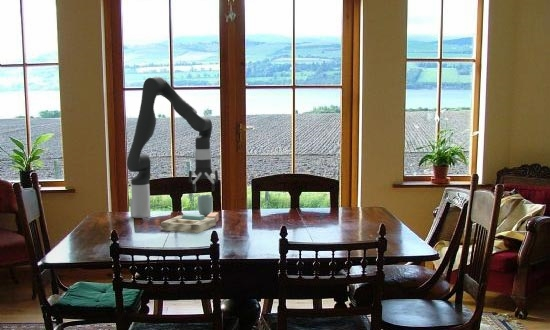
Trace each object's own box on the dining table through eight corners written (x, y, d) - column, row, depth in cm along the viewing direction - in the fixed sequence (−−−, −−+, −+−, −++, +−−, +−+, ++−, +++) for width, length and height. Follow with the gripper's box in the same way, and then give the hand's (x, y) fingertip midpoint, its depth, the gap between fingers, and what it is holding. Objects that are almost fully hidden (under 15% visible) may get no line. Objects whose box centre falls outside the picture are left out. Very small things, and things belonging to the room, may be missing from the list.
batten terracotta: (214, 224, 268) (214, 216, 268) (206, 224, 269) (206, 216, 268) (218, 220, 278) (218, 212, 278) (210, 220, 279) (210, 212, 278)
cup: (214, 213, 295) (213, 195, 294) (211, 216, 287) (210, 197, 286) (200, 213, 296) (199, 194, 295) (196, 216, 288) (196, 197, 287)
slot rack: (161, 229, 257) (161, 222, 256) (180, 222, 273) (179, 215, 272) (198, 232, 250) (198, 225, 249) (215, 225, 266) (215, 217, 265)
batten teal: (204, 223, 265) (204, 215, 265) (200, 224, 261) (199, 216, 261) (186, 221, 269) (186, 213, 269) (182, 223, 266) (182, 215, 265)
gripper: (187, 159, 261) (188, 192, 263) (217, 158, 262) (218, 192, 264) (189, 157, 269) (190, 190, 270) (218, 157, 269) (218, 189, 271)
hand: (203, 191), depth 267 cm, fingers open, 8 cm apart
